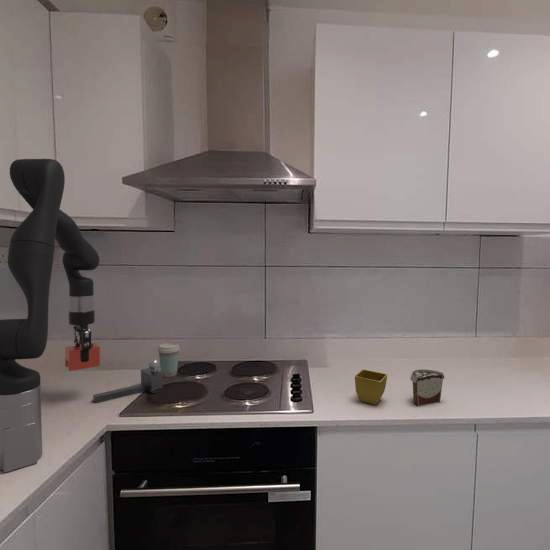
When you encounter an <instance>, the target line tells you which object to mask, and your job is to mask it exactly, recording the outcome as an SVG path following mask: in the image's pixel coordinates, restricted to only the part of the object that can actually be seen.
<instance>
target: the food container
mask: <svg viewBox="0 0 550 550" xmlns="http://www.w3.org/2000/svg"><path fill="white" fill-rule="evenodd" d="M444 380H445V374H444V372H442V371H438V370H433V369H415V370H413V371H412V373H411V375H410V381H411V382H412V395H413V397H412V398H413V399H412V400H413V404H414V405H415V406H417V407H424V406H429V405H435V404H440V403H441V397H442V389H443V382H444Z"/></svg>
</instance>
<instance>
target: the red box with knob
mask: <svg viewBox="0 0 550 550" xmlns="http://www.w3.org/2000/svg"><path fill="white" fill-rule="evenodd" d="M84 346H87V344H84ZM100 347H101V346H99V345H98V344H96V343H95V342H94V343H93V342H91V349H90V350H89V361H88V362H81V350H80V345H76V346H75V345H70V346H69V345H68V346H64V367H65V368H68V372H73V371H78V370H84V369H88V368H89V369H90V368H95V367H100V366H101V363H100V360H101V357H100V355H101V353H100V352H101V351H100V350H101V349H100Z"/></svg>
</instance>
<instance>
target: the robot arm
mask: <svg viewBox="0 0 550 550" xmlns="http://www.w3.org/2000/svg"><path fill="white" fill-rule="evenodd" d="M9 177H10V180H11V182H12V185H13V187H14V188H15V189H16V191H17V192H18V194H19V195H20V196H21V197H22V199H24V201H25V202H26V203H27V204H28V205H29V207H30V208H31V209H32V210H31V212H30V213H29V214H28V215H27V216H26V218H25V219H24V220H23V221H22V222H21V223H20V224H19V225H18V226H17V227H16V229H15V230H14V231H13V233H12V235H11V237H10V242H9V247H8V255H7V266H8V269H9V270H10V273H11V274H12V276H13V278H14V279H15V282H16V283H17V284H18V286H19V288H20V289H21V290H22V292H23V294H24V297H25V299H26V304H27V318H12V319H11V318H10V319H8V318H6V319H5V318H3V319H0V471H2V470H3V474H4V473H5V472H6V473H8V472H12V471H15V469H16V470H19V469H21V468H24V467H28V466H31V465H35V464H37V463H38V460H39V459H40V458H41V457H42V455H43V432H42V431H43V430H42V428H43V426H42V425H43V424H42V400H41V399H42V397H41V396H42V392H41V387H42V386H41V375H40V372H39V371H38V370H35V369H32V368H28V367H26V366H23V365H21V364H20V363H18V362H17V361H16V360H31V359H32V360H33V359H38V358H41V356H43V354H44V352H45V350H46V348H47V347H46V346H47V343H48V336H49V333H48V332H49V298H50V286H51V280H52V279H51V277H52V271H53V265H54V257H55V256H54V255H55V250H56V249H55V248H56V247H55V246H56V243H57V245H59V247H60V248H61V249H62V251H64V253H63V256H62V264H63V265H62V266H63V268H64V271H65V273H66V277H67V281H68V285H69V286H68V287H69V288H68V291H69V294H68V295H69V297H68V298H69V299H68V324H69V325H70V326H73V327H72V328H73V344H74V346H76V345H80V350H81V362H88V361H89V350H90V349H91V343H92V330H90V329H89V326H90V325H92V324H94V323H95V321H96V320H95V319H96V317H95V315H96V314H95V311H96V308H95V298H94V296H95V295H94V280H93V278H90V277H85V276H82V274H81V273H80V271H93V270H96V269H97V268H98V267H99V264H100V256H99V254H98V252H97V250H96V249H95V247H94V246H92V244H91V243H90V242H88V240H86V238H85V237H84V236H83V235H82V232H81V231H80V229H79V227H78V225H77V223H76V222H75V221H74V220H73V218H72V217H71V216H70V215H68V214H67V213H66V212H64V211H63V210H61V204H62V200H63V194H64V192H65V181H66V178H65V177H66V176H65V171H64V168H63V165H62V164H61V163H60V162H59V161H58V160H57V159H52V158H21V159H15V160H14V161H12V162H11V164H10V166H9ZM84 344H87V346H84ZM18 468H19V469H18Z"/></svg>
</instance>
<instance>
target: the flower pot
mask: <svg viewBox="0 0 550 550" xmlns="http://www.w3.org/2000/svg"><path fill="white" fill-rule="evenodd" d="M387 380H388V374H387V373H385V372H377V371H374V370H369V369H361V370H360V371H359V372H358V373H356V374H355V375H354V382H355V383H354V385H355V387H354V388H355V393H356V395H357V397H358V399H359V400H360V402H363V403H366V404H371V405H377V403H378V402H379V401H380V400H381V399H382V397H383V395H384V393H385V391H386V386H387Z"/></svg>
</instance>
